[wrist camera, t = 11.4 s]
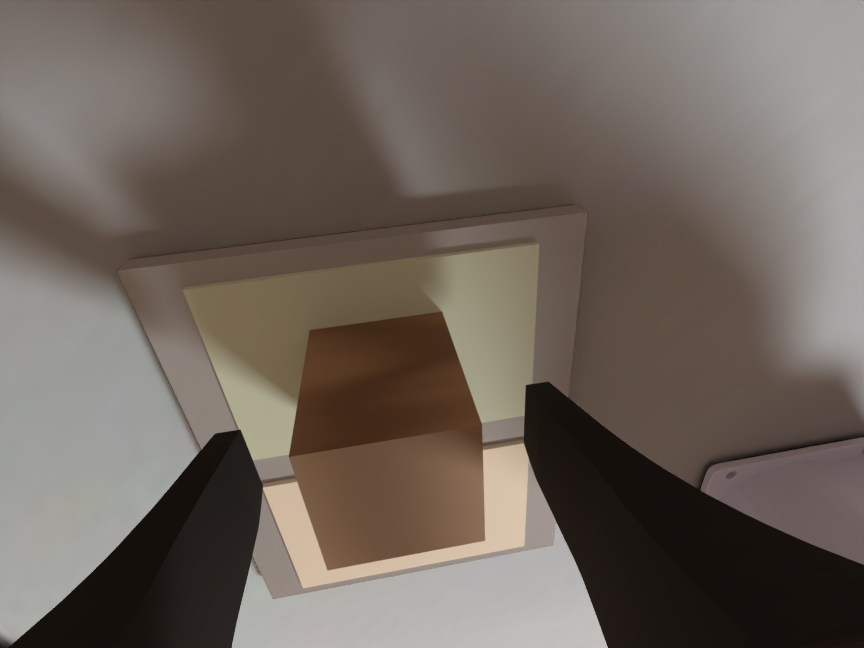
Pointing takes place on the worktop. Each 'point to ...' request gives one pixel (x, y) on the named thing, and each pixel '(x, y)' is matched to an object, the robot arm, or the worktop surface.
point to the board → (357, 303)
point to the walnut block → (387, 441)
